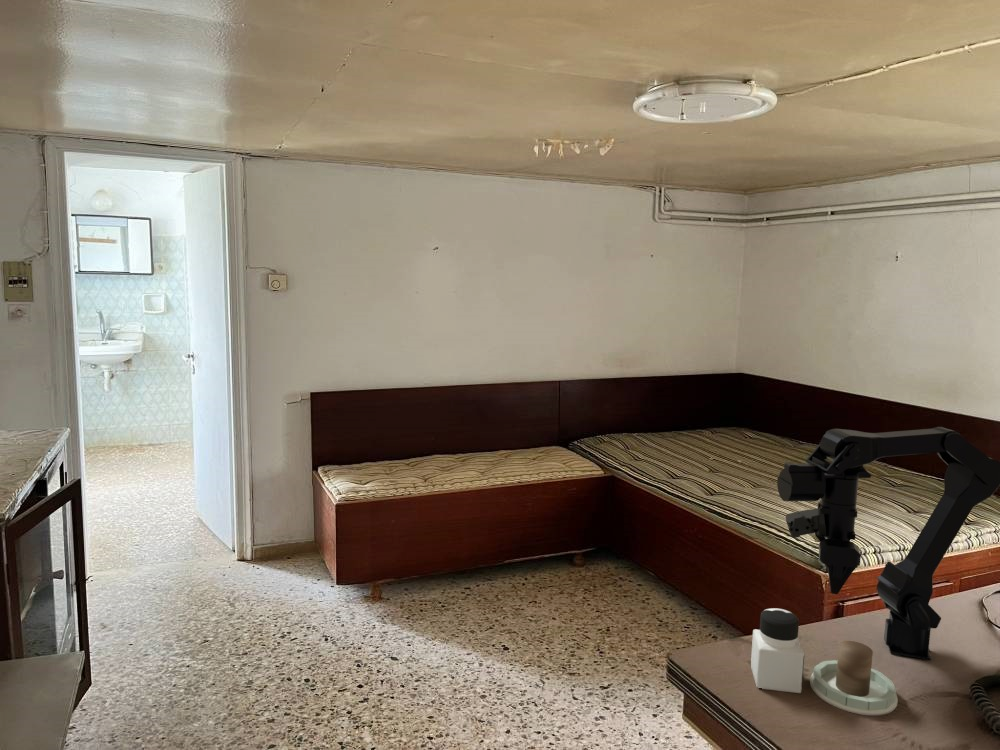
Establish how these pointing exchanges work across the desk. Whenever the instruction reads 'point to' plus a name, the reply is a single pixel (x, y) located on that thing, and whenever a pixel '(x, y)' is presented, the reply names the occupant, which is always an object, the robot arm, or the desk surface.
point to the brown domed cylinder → (854, 668)
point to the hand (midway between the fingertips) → (832, 583)
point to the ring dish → (873, 704)
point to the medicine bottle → (777, 652)
